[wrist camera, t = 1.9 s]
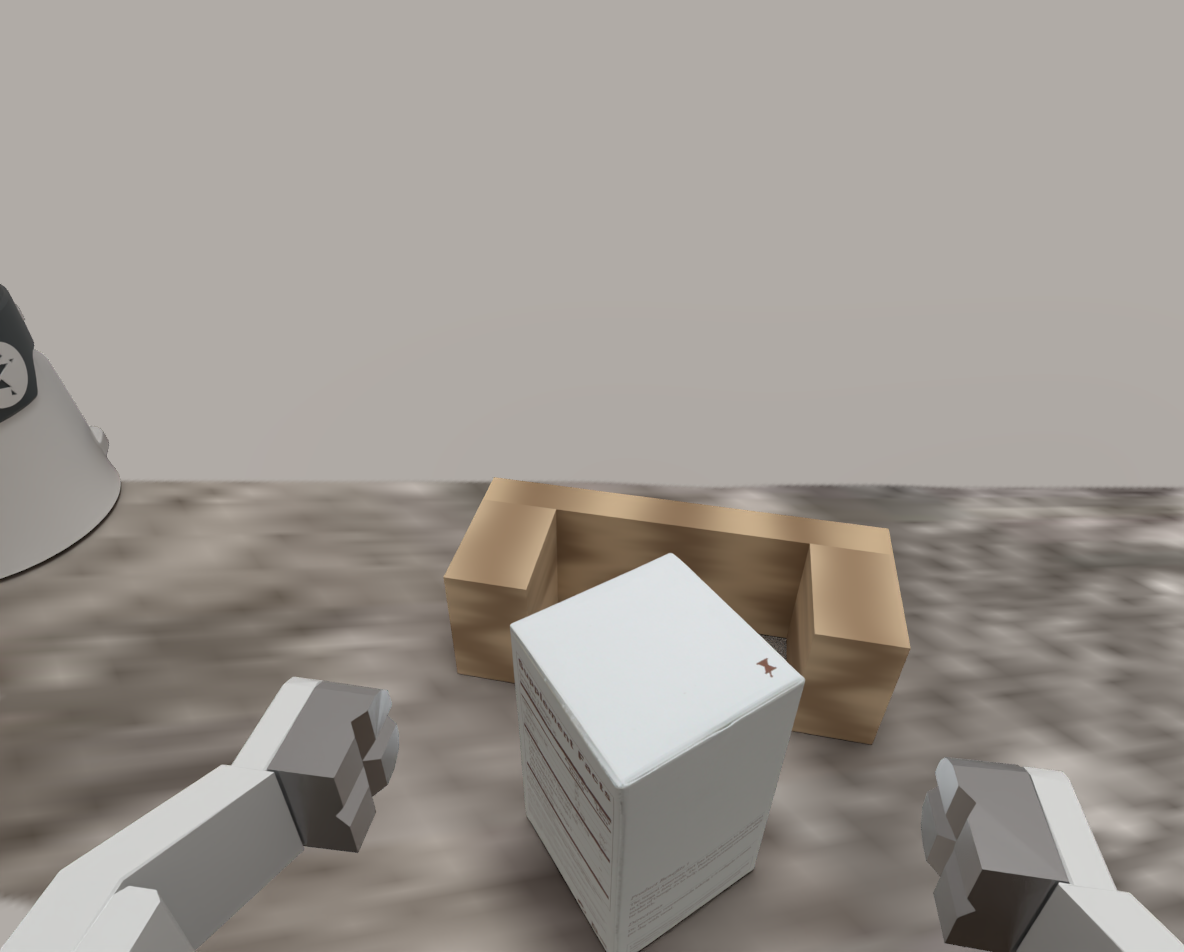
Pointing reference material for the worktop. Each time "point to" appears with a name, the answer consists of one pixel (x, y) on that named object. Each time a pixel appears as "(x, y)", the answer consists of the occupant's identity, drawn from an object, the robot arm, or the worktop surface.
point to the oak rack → (718, 557)
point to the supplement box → (649, 745)
